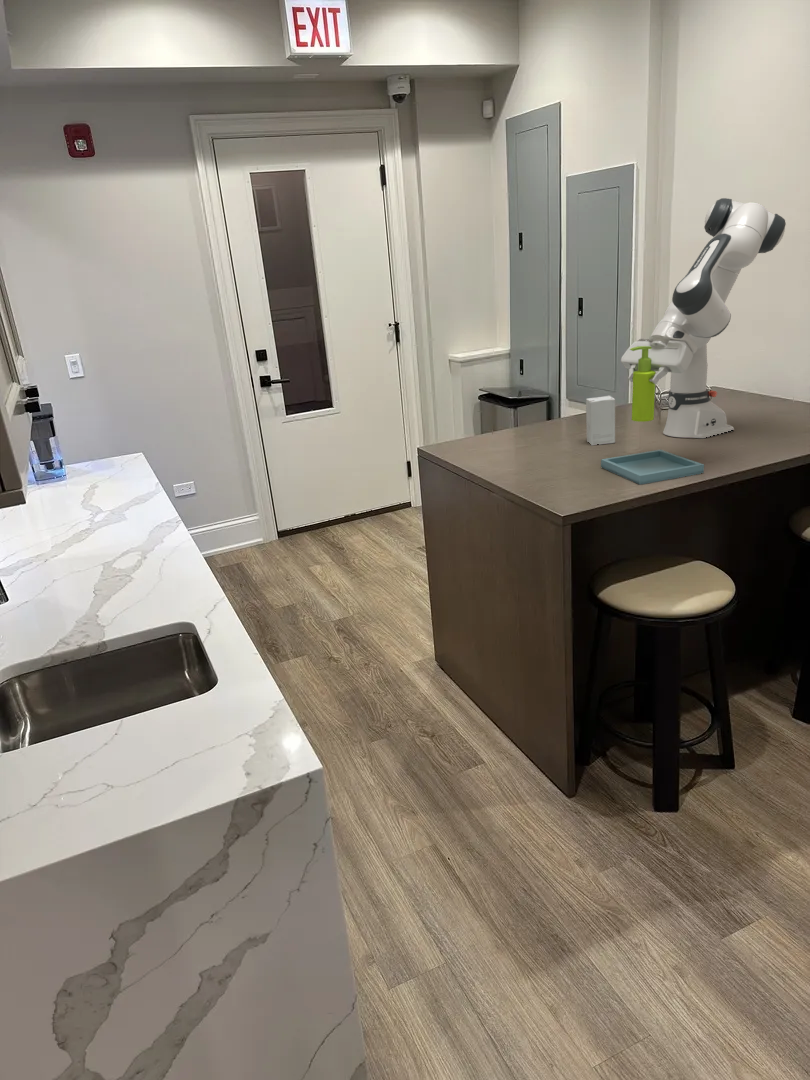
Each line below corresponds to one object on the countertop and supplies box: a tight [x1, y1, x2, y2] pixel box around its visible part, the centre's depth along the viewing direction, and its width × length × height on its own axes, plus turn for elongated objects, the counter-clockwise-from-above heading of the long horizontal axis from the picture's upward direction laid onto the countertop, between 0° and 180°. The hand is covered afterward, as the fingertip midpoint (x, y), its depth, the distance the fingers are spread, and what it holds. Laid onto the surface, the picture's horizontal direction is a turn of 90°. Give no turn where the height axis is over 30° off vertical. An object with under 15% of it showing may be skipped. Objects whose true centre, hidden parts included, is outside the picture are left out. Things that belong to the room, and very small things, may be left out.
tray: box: [600, 449, 705, 485], centre depth 209 cm, size 20×20×2 cm
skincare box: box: [585, 395, 616, 446], centre depth 241 cm, size 8×6×15 cm
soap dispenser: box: [630, 346, 657, 423], centre depth 202 cm, size 6×7×20 cm
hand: (641, 381), depth 202 cm, fingers closed on soap dispenser, 6 cm apart
